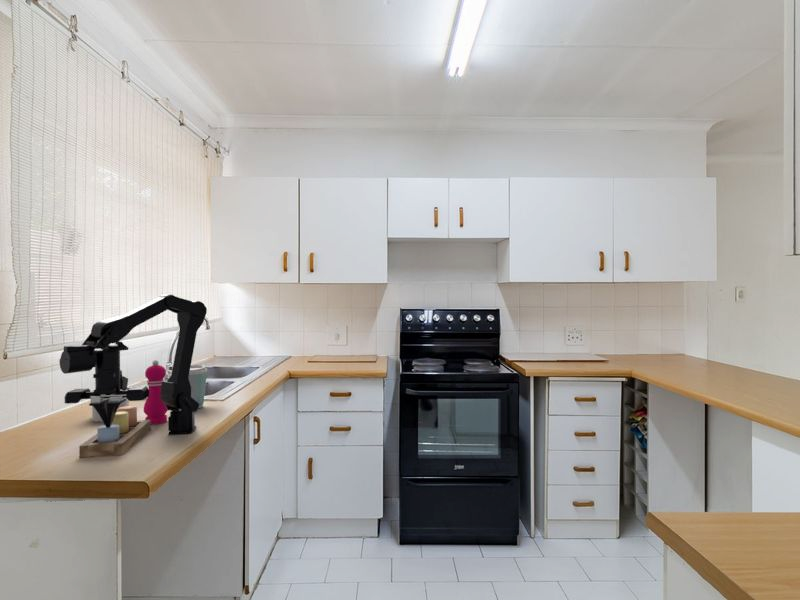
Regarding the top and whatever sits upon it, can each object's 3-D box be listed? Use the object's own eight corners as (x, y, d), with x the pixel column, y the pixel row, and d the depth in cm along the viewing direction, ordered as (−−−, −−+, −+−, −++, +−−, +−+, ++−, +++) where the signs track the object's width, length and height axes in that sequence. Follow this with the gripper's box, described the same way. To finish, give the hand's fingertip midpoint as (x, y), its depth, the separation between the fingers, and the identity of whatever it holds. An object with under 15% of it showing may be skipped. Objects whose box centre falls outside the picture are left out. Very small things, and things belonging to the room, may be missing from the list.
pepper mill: (138, 423, 158) (137, 361, 157) (158, 418, 164) (158, 358, 164) (153, 426, 154) (152, 362, 154) (173, 420, 161) (172, 359, 160)
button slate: (122, 442, 134) (122, 424, 134) (115, 448, 129) (115, 429, 129) (102, 443, 133) (101, 425, 133) (94, 449, 128) (94, 430, 128)
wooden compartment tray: (151, 429, 150) (150, 419, 150) (122, 454, 127) (122, 443, 127) (115, 431, 149) (115, 421, 148) (79, 457, 125) (79, 445, 125)
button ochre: (131, 428, 141) (131, 411, 140) (124, 433, 136) (124, 415, 136) (112, 429, 140) (111, 412, 140) (105, 434, 135) (104, 416, 135)
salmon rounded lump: (139, 422, 147) (139, 405, 147) (133, 426, 143) (133, 409, 142) (121, 423, 147) (120, 406, 146) (114, 427, 142) (114, 410, 142)
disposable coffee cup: (201, 410, 174) (200, 368, 173) (170, 411, 174) (170, 368, 174) (212, 404, 184) (212, 364, 184) (184, 404, 184) (183, 364, 184)
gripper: (154, 363, 140) (155, 417, 140) (82, 365, 137) (83, 421, 137) (142, 369, 129) (142, 428, 130) (63, 371, 126) (64, 432, 126)
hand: (108, 427), depth 131 cm, fingers closed, pressing on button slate
